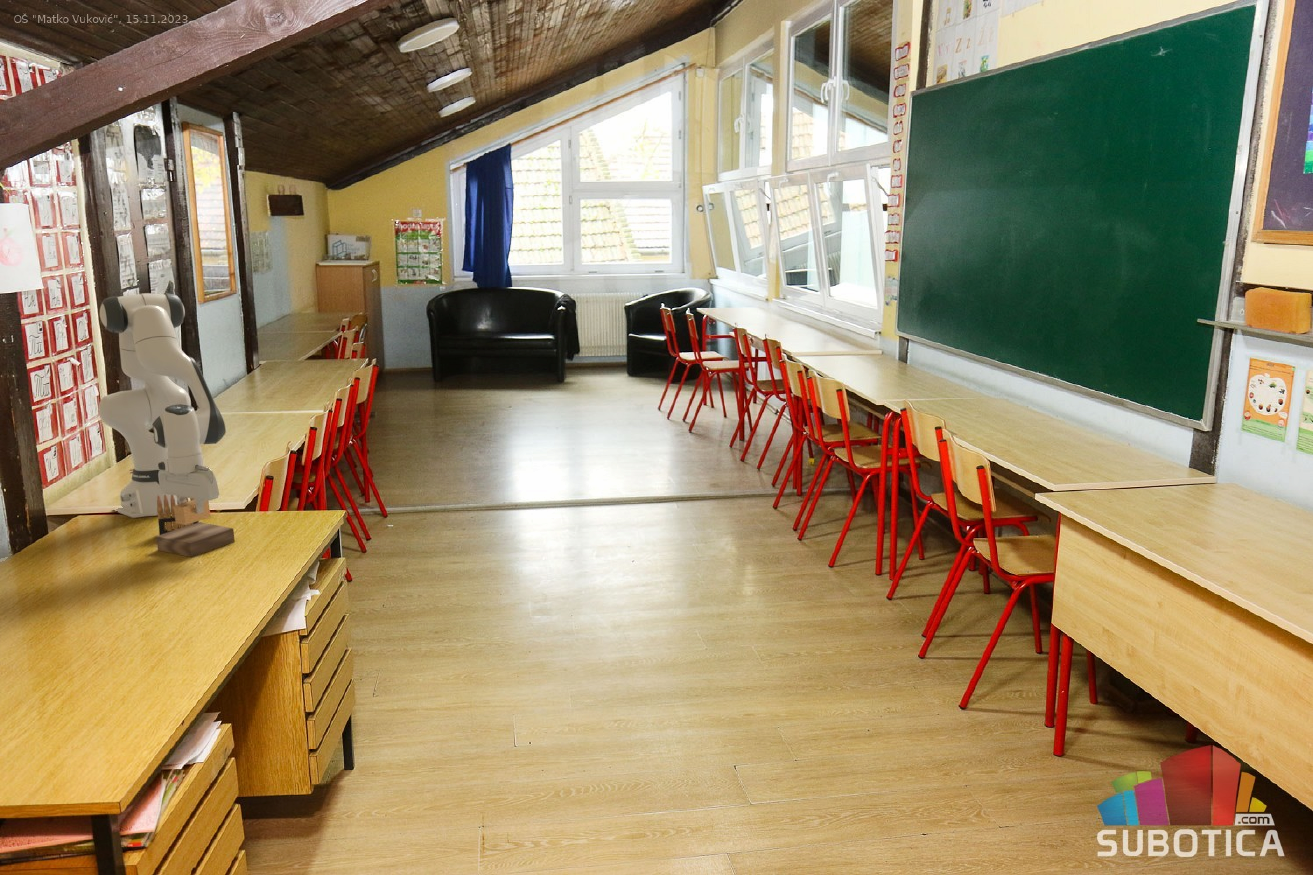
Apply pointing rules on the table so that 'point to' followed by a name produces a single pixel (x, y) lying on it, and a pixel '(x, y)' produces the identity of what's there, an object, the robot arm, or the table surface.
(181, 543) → the walnut stand
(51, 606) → the table surface
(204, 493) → the robot arm
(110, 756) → the table surface
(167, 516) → the ammunition clip
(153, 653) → the table surface
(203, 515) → the light brown wooden block
